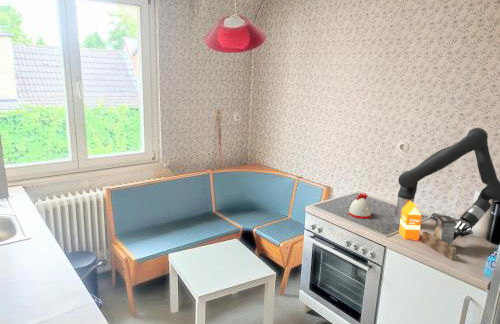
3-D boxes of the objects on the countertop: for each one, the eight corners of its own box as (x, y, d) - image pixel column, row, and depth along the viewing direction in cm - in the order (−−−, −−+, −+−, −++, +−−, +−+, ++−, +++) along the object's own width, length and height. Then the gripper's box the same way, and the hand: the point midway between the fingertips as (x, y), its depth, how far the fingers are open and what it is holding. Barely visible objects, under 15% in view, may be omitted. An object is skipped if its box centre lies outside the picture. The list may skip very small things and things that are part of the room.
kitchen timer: (375, 217, 220) (377, 195, 216) (356, 219, 216) (358, 197, 213) (362, 210, 233) (364, 189, 229) (344, 211, 229) (346, 190, 226)
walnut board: (421, 242, 187) (423, 231, 186) (424, 241, 188) (426, 231, 186) (451, 260, 168) (453, 249, 167) (454, 259, 169) (456, 248, 167)
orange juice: (412, 233, 198) (416, 200, 194) (418, 239, 190) (423, 206, 185) (398, 232, 199) (402, 199, 194) (404, 239, 190) (408, 205, 185)
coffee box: (432, 242, 187) (436, 214, 183) (444, 243, 186) (449, 215, 182) (438, 250, 178) (443, 221, 174) (452, 251, 177) (456, 222, 173)
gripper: (458, 207, 187) (437, 230, 186) (480, 216, 174) (457, 240, 174) (465, 215, 189) (443, 237, 189) (486, 224, 177) (464, 249, 176)
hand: (450, 239), depth 181 cm, fingers closed
